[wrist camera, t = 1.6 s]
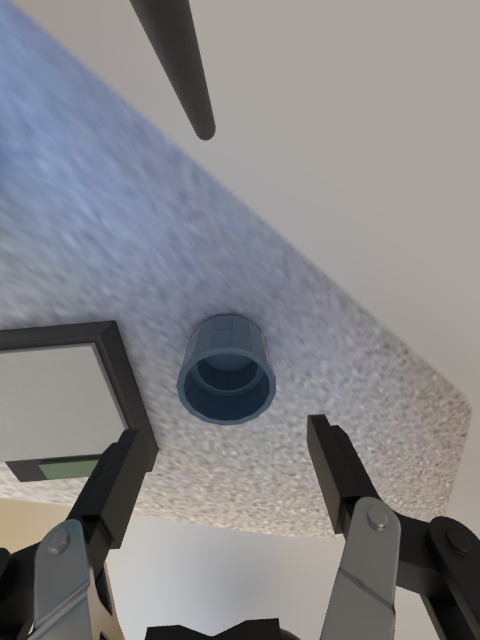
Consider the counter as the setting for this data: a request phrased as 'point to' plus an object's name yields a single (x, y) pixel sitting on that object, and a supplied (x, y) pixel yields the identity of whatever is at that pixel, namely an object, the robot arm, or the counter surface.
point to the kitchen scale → (65, 399)
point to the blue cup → (227, 372)
